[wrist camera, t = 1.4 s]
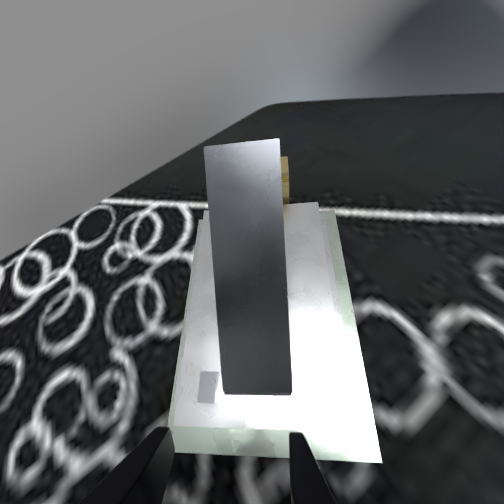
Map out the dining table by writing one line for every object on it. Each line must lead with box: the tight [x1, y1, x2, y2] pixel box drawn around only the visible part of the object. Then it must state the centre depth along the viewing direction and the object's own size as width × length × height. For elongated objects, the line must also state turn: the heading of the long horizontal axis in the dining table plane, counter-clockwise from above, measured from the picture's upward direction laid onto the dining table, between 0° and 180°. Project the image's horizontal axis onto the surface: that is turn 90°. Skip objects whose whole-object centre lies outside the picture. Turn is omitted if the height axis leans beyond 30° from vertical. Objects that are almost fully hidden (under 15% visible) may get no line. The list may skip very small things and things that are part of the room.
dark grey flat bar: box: [204, 138, 293, 396], centre depth 14 cm, size 14×4×1 cm
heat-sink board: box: [167, 157, 382, 463], centre depth 19 cm, size 21×15×9 cm
